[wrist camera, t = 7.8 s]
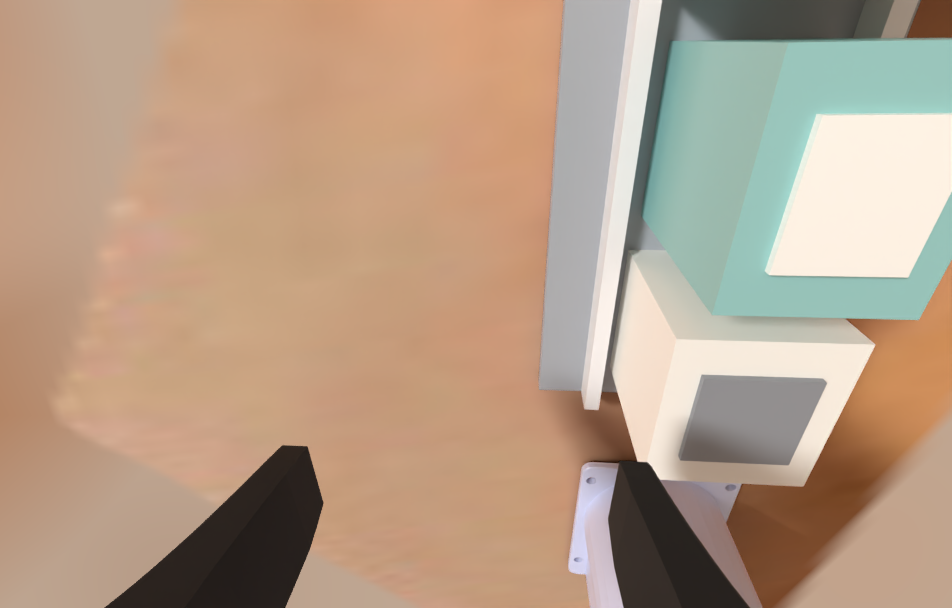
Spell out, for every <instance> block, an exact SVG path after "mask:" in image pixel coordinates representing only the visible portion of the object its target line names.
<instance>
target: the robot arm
mask: <svg viewBox="0 0 952 608" xmlns="http://www.w3.org/2000/svg"><path fill="white" fill-rule="evenodd" d="M590 477H592V478H590ZM741 485H742V484H737V483H717V482H696V481H676V480H660V479H659V478H658V476H657V475H656V473H655V471H654V470H653V468H652V466H651V465H650V464H649V463H648V462H634V461H619V463H603V462H588V463H586V464H584V465H583V466H582V469H581V476H580V483H579V490H578V497H577V504H576V511H575V518H574V525H573V532H572V539H571V546H570V553H569V560H568V568H569V571H570V572H572V573H575V574H586V580H587V588H588V596H589V603H590V608H763V607H762V605H761V602H760V600H759V598H758V596H757V593H756V591H755V589H754V586H753V584H752V582H751V579H750V577H749V575H748V573H747V570H746V568H745V566H744V563H743V561H742V559H741V556H740V554H739V552H738V550H737V547H736V545H735V543H734V540H733V538H732V536H731V534H730V531H729V529H728V527H727V524H726V522H727V519H728V517H729V514H730V512H731V509H732V507H733V504H734V502H735V500H736V497H737V495H738V492H739V490H740V487H741ZM322 507H323V500H322V496H321V493H320V489H319V486H318V482H317V479H316V475H315V472H314V468H313V465H312V461H311V457H310V454H309V450H308V447H307V446H285V445H282V446H281V447H280V448H279V449H278V450H277V451H276V452H275V453H274V454H273V455H272V456H271V457H270V458H269V459H268V460H267V461H266V462H265V463H264V464H263V465H262V466H261V467H260V468H259V469H258V470H257V471H256V472H255V473H254V474H253V475H252V476H251V477H250V478H249V479H248V480H247V481H246V482H245V483H244V484H243V485H242V486H241V487H240V488H239V489H238V490H237V491H236V492H235V493H234V494H233V495H232V496H230V497H229V498H228V499H227V500H226V501H225V502H224V503H223V504H222V505H221V506H220V507H219V508H218V509H217V510H216V511H215V512H214V513H213V514H212V515H211V516H210V517H209V518H208V519H207V520H205V521H204V522H203V523H202V524H201V525H200V526H199V527H198V528H197V529H196V530H195V531H194V532H193V533H192V534H191V535H189V536H188V537H187V538H186V539H185V540H184V541H183V542H182V543H181V544H179V545H178V546H177V547H176V548H175V549H174V550H173V551H171V552H170V553H169V554H168V555H167V556H166V557H165V558H164V559H163V560H162V561H160V562H159V563H158V564H157V565H156V566H155V567H153V568H152V569H151V570H150V571H149V572H148V573H146V574H145V575H144V576H143V577H142V578H141V579H140V580H138V581H137V582H136V583H135V584H134V585H132V586H131V587H130V588H129V589H127V590H126V591H125V592H124V593H122V594H121V595H120V596H119V597H117V598H116V599H115V600H114V601H112V602H111V603H110V604H109V605H107V606H106V607H105V608H285V607H286V605H287V602H288V600H289V597H290V595H291V593H292V591H293V588H294V586H295V583H296V581H297V579H298V576H299V574H300V572H301V569H302V567H303V564H304V562H305V560H306V557H307V555H308V552H309V550H310V547H311V544H312V541H313V537H314V534H315V531H316V528H317V524H318V521H319V517H320V514H321V510H322Z"/></svg>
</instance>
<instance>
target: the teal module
mask: <svg viewBox="0 0 952 608" xmlns="http://www.w3.org/2000/svg"><path fill="white" fill-rule="evenodd" d="M641 216H642V218H643V219H644V221H645V222H646V223H647V225H648V226H649V228H650V229H651V230H652V232H653V233H654V235H655V236H656V237H657V239H658V240H659V242H660V243H661V244H662V246H663V247H664V249H665V250H666V251H667V253H668V254H669V256H670V257H671V258H672V260H673V261H674V263H675V264H676V266H677V267H678V268H679V270H680V271H681V273H682V274H683V275H684V277H685V278H686V280H687V281H688V282H689V284H690V285H691V287H692V288H693V289H694V291H695V292H696V294H697V295H698V296H699V298H700V299H701V301H702V302H703V303H704V305H705V306H706V308H707V309H708V310H709V312H710V313H711V315H724V316H768V317H811V318H854V319H898V320H919V318H920V317H921V315H922V313H923V311H924V309H925V307H926V306H927V304H928V302H929V300H930V298H931V296H932V295H933V293H934V291H935V289H936V287H937V286H938V284H939V282H940V280H941V278H942V276H943V275H944V273H945V271H946V269H947V267H948V265H949V264H950V262H951V260H952V38H800V39H747V40H694V41H670V44H669V50H668V56H667V62H666V68H665V74H664V79H663V85H662V91H661V97H660V103H659V109H658V115H657V121H656V127H655V133H654V139H653V145H652V151H651V157H650V163H649V169H648V174H647V180H646V186H645V192H644V198H643V204H642V210H641Z"/></svg>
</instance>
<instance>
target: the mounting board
mask: <svg viewBox="0 0 952 608" xmlns="http://www.w3.org/2000/svg"><path fill="white" fill-rule="evenodd" d="M920 2H921V0H564V2H563V17H562V32H561V48H560V63H559V78H558V93H557V109H556V124H555V139H554V154H553V170H552V185H551V200H550V215H549V231H548V246H547V261H546V276H545V292H544V307H543V322H542V337H541V353H540V368H539V390H563V391H581V393H582V399H583V404H584V409H585V410H599V404H600V397H601V392H618V396H619V399H620V403H621V406H622V410H623V413H624V416H625V420H626V423H627V427H628V430H629V434H630V437H631V441H632V444H633V448H634V451H635V454H636V458H637V461H638V462H648V463H649V464H650V465H651V466H652V468H653V470H654V471H655V473H656V475H657V476H658V478H659V479H660V480H676V481H696V482H717V483H737V484H758V485H779V486H799V487H803V486H804V484H805V483H806V481H807V479H808V477H809V475H810V473H811V471H812V469H813V467H814V465H815V463H816V461H817V459H818V457H819V455H820V453H821V451H822V449H823V447H824V445H825V443H826V441H827V439H828V437H829V435H830V433H831V431H832V429H833V427H834V425H835V424H836V422H837V420H838V418H839V416H840V414H841V412H842V410H843V408H844V406H845V404H846V402H847V400H848V398H849V396H850V394H851V392H852V390H853V388H854V386H855V384H856V382H857V380H858V378H859V376H860V374H861V372H862V370H863V368H864V367H865V365H866V363H867V361H868V359H869V357H870V355H871V353H872V351H873V349H874V347H875V344H874V343H873V342H872V341H871V340H870V339H868V338H867V337H866V336H865V335H864V334H862V333H861V332H860V331H859V330H858V329H857V328H855V327H854V326H853V325H852V324H851V323H850V322H848V321H847V320H846V319H845V318H811V317H768V316H724V315H711V313H710V312H709V310H708V309H707V308H706V306H705V305H704V303H703V302H702V301H701V299H700V298H699V296H698V295H697V294H696V292H695V291H694V289H693V288H692V287H691V285H690V284H689V282H688V281H687V280H686V278H685V277H684V275H683V274H682V273H681V271H680V270H679V268H678V267H677V266H676V264H675V263H674V261H673V260H672V258H671V257H670V256H669V254H668V253H667V251H666V250H665V249H664V247H663V246H662V244H661V243H660V242H659V240H658V239H657V237H656V236H655V235H654V233H653V232H652V230H651V229H650V228H649V226H648V225H647V223H646V222H645V221H644V219H643V218H642V216H641V210H642V204H643V198H644V192H645V186H646V180H647V174H648V169H649V163H650V157H651V151H652V145H653V139H654V133H655V127H656V121H657V115H658V109H659V103H660V97H661V91H662V85H663V79H664V74H665V68H666V62H667V56H668V50H669V44H670V41H694V40H747V39H800V38H907V35H908V33H909V30H910V27H911V25H912V22H913V20H914V17H915V15H916V12H917V10H918V7H919V4H920Z"/></svg>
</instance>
